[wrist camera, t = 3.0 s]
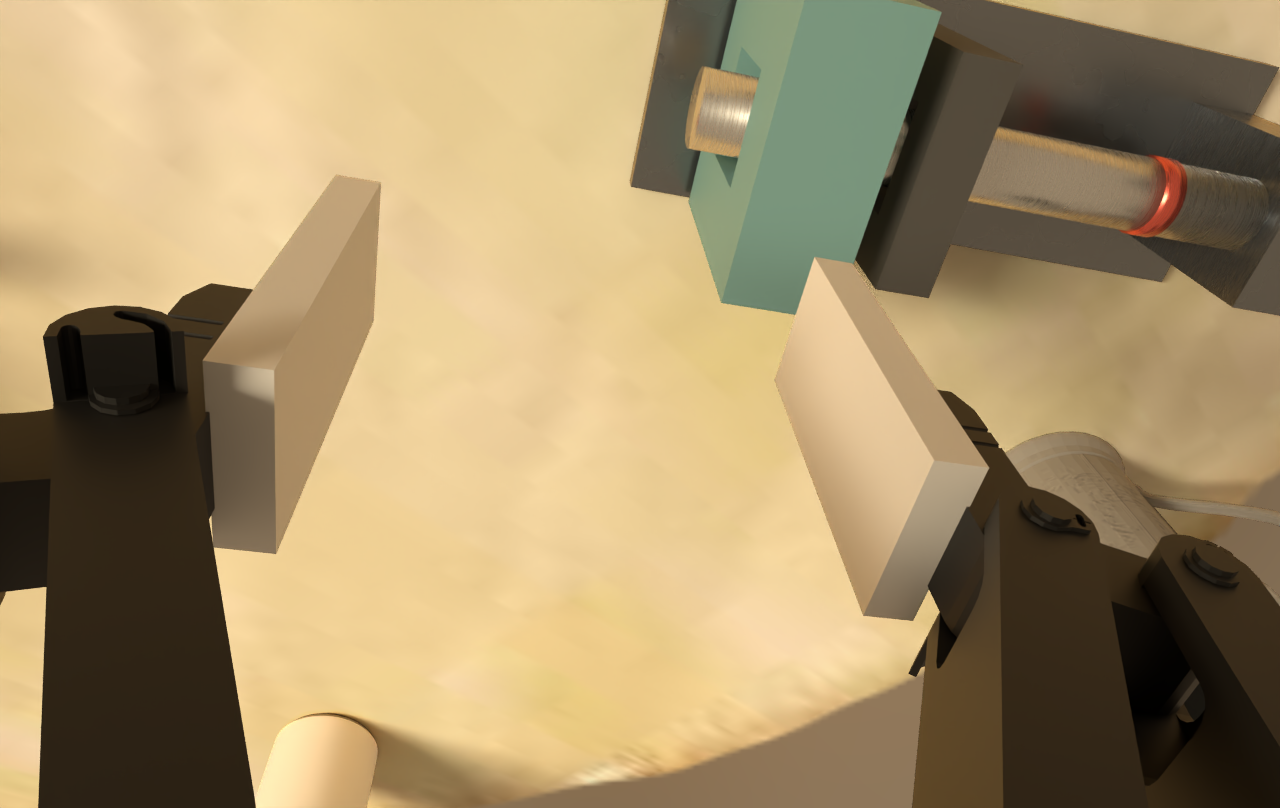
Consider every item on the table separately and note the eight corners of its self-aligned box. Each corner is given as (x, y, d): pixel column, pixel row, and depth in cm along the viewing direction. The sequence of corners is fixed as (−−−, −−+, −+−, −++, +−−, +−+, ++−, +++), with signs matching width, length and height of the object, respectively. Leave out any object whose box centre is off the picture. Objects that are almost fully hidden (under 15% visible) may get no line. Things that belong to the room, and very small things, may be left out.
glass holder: (953, 469, 49) (1085, 686, 36) (1215, 367, 47) (1455, 563, 34) (988, 573, 54) (1117, 800, 41) (1229, 486, 51) (1446, 698, 38)
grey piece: (630, 180, 39) (643, 258, 32) (680, -71, 34) (710, -48, 27) (1152, 274, 43) (1270, 362, 36) (1266, 63, 38) (1431, 115, 31)
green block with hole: (688, 202, 38) (721, 302, 30) (749, -53, 33) (809, -18, 25) (776, 218, 39) (833, 320, 31) (850, -30, 34) (941, 11, 26)
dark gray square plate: (821, 209, 38) (875, 289, 31) (885, 10, 34) (963, 51, 27) (865, 218, 38) (928, 297, 32) (934, 21, 34) (1023, 64, 27)
